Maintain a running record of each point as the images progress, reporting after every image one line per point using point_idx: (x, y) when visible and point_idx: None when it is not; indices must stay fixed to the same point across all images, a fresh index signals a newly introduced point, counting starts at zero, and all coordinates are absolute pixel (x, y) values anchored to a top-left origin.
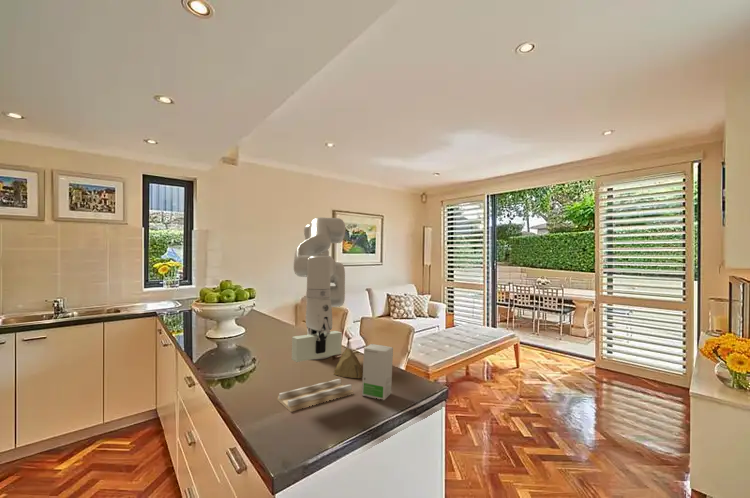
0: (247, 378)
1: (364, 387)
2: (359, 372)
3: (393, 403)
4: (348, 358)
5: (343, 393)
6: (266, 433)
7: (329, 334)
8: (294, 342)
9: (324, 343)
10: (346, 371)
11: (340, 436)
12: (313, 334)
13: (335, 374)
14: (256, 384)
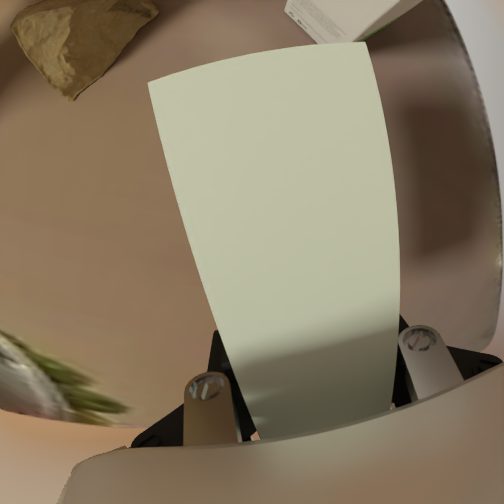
0: (64, 365)
1: None
2: (145, 2)
3: (416, 17)
4: (74, 26)
5: None
6: None
7: (397, 297)
8: None
9: (404, 321)
10: (105, 49)
11: (491, 233)
12: None
13: (77, 94)
14: (106, 359)
